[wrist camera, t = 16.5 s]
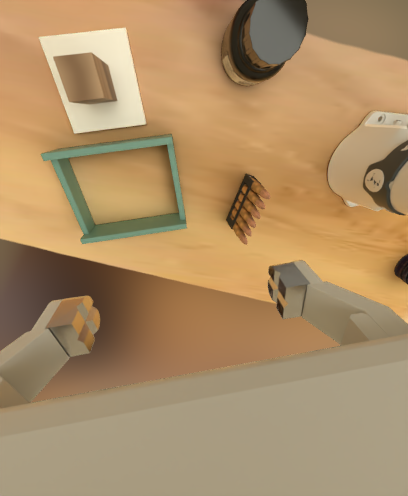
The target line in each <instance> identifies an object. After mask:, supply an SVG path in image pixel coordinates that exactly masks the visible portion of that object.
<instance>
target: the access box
mask: <svg viewBox="0 0 408 496" xmlns="http://www.w3.org/2000/svg"><path fill="white" fill-rule="evenodd" d="M160 145H167V147H168V153H169V159H170V164H171V170H172V175H173V181H174V186H175V192H176V198H177V203H178V209H179V213H174V214H167V215H160V216H154V217H147V218H140V219H133V220H127V221H120V222H113V223H106V224H99V225H95V223H94V221H93V219H92V216H91V214H90V211H89V209H88V206H87V204H86V201H85V199H84V196H83V194H82V191H81V189H80V186H79V184H78V182H77V179H76V177H75V174H74V172H73V169H72V167H71V164H70V162H69V159H68V158H70V157H78V156H85V155H93V154H100V153H108V152H115V151H123V150H130V149H138V148H145V147H153V146H160ZM41 156H42V158H43V160H44V161H48V160H51V162H52V164H53V167H54V169H55V171H56V173H57V176H58V178H59V180H60V182H61V185H62V187H63V189H64V191H65V193H66V196H67V198H68V200H69V202H70V205H71V207H72V209H73V211H74V214H75V216H76V218H77V220H78V223H79V225H80V227H81V229H82V232H83V234H84V235H83V236H82V238H81V239H80V240H81V242H82V244H86V243H93V242H99V241H106V240H113V239H119V238H126V237H133V236H139V235H146V234H152V233H159V232H166V231H172V230H179V229H185V228H187V226H186V218H185V211H184V205H183V199H182V193H181V187H180V181H179V175H178V169H177V163H176V157H175V151H174V145H173V138H172V134H168V135H160V136H152V137H145V138H137V139H129V140H122V141H114V142H107V143H99V144H91V145H84V146H76V147H69V148H61V149H56V150H53V151H49V152H46V153H43V154H41Z"/></svg>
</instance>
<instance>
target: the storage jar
mask: <svg viewBox="0 0 408 496" xmlns="http://www.w3.org/2000/svg"><path fill="white" fill-rule="evenodd" d="M394 272H395V275H396V276H398V277H399V278H401V279H402V280H403V281H404V282H405V283H407V284H408V254H407V255H405V256H404V257H403V258H402V259H401V260H400V261H399V262H398V263H397V265H396V267H395V270H394Z"/></svg>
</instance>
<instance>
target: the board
mask: <svg viewBox="0 0 408 496" xmlns="http://www.w3.org/2000/svg"><path fill="white" fill-rule="evenodd" d="M39 40H40V42H41V45H42V48H43V50H44V53H45V56H46V58H47V61H48V64H49V67H50V69H51V72H52V75H53V77H54V80H55V83H56V85H57V88H58V91H59V93H60V96H61V99H62V102H63V104H64V107H65V110H66V112H67V115H68V118H69V120H70V123H71V126H72V128H73V131H74V134H75V133H83V132H90V131H98V130H106V129H114V128H121V127H129V126H137V125H145V124H147V123H146V118H145V114H144V109H143V104H142V100H141V95H140V90H139V86H138V81H137V76H136V72H135V67H134V62H133V58H132V53H131V48H130V44H129V39H128V34H127V30H126V28H117V29H108V30H99V31H90V32H81V33H71V34H62V35H53V36H44V37H39ZM90 52H92V53H93V54H94V55H96V56H97V57H98V58H100V59H101V60H102V61H103V62H105V63H106V64H107V65H108V66H109V70H110V74H111V78H112V82H113V85H114V89H115V93H116V97H117V101H114V102H105V103H97V104H81V103H72V102H69V100H68V98H67V95H66V92H65V89H64V86H63V84H62V81H61V78H60V75H59V72H58V70H57V67H56V64H55V61H54V59H53V57H54V56H63V55H72V54H81V53H90Z"/></svg>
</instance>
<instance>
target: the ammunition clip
mask: <svg viewBox="0 0 408 496" xmlns="http://www.w3.org/2000/svg"><path fill="white" fill-rule="evenodd" d="M257 194H258V195H260V196H262V197H263V198H265V199H270V195H269V193H268V192H267V191H266V190H265V188H264V187H263V186H262V185H261V183H260V182H259V181H258V180H257V179H256V178H255V177H254V176H251V175H248V174H245V177H244V179H243V181H242V184H241V186H240V188H239V191H238V193H237V195H236V198H235V200H234V203H233V205H232V207H231V210H230V212H229V214H228V217H227V219H226V221H227V222H228V224H229V226H230V227H231V229H233V230H234V232H235V233H236V235H237V236H238V237H239V239H240V240H241V241H242V243H244V244H246V245H247V238H246V236H245V234H244V232H245V233H246V234H247V235H248V236H251V230H250V228H249V226H248V224H249V225H250V226H251V227H253V228H255V227H256V224H255V221H254V219H253V218H252V215H253V216H254V217H255V218H258V219H260V213H259V212H258V210H257V209H256V206H255V205H257V206H258V207H259V208H261V209H265V205H264V203H263V201H262V200H261V199H260V197H259V196H258V195H257ZM253 203H254V204H255V205H254V204H253ZM250 213H251V214H252V215H251V214H250Z"/></svg>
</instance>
